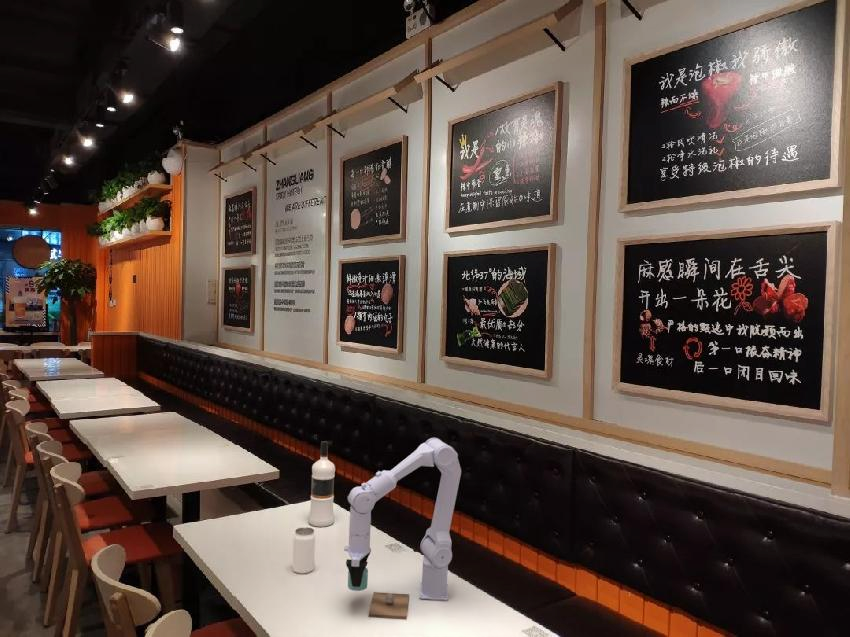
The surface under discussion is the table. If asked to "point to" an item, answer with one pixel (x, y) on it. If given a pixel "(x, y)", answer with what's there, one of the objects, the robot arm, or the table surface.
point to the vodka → (322, 490)
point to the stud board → (389, 605)
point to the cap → (363, 583)
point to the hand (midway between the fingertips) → (357, 581)
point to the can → (303, 550)
